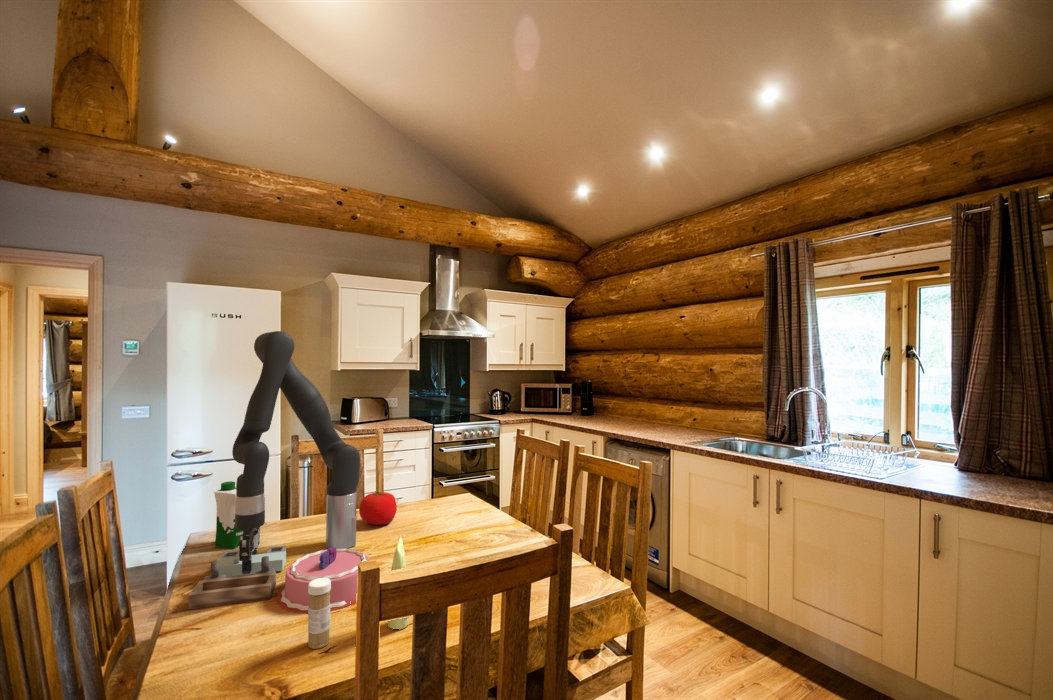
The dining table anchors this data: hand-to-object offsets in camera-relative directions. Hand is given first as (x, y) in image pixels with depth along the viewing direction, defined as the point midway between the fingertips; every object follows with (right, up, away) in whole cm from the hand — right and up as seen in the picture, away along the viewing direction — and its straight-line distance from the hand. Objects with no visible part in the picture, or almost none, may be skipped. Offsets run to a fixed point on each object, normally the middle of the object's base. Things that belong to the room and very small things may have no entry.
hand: (249, 567), depth 140 cm
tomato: (+25, -2, +41) cm, 48 cm away
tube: (+50, -2, -26) cm, 56 cm away
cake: (+27, -2, -9) cm, 28 cm away
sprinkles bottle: (+35, -1, -34) cm, 49 cm away
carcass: (+4, -1, -13) cm, 14 cm away
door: (-1, -1, +2) cm, 2 cm away
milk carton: (-17, -1, +20) cm, 26 cm away
